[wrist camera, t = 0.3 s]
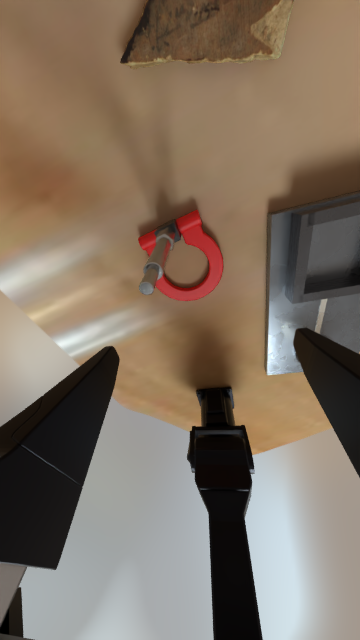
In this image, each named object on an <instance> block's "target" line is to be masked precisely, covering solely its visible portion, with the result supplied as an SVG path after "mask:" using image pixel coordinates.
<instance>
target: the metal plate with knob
mask: <svg viewBox="0 0 360 640" xmlns="http://www.w3.org/2000/svg"><path fill="white" fill-rule="evenodd" d="M298 328H309V329H311V330H313V331H315V332H317V333H319V334H321V335H323V336H325V337H327V338H328V339H330V340H332V341H334V342H336V343H338V344H340V345H342V346H344V347H346V348H348V349H350V350H352V351H354V352H356V353H358V354H359V352H360V191H356V192H352V193H348V194H344V195H340V196H336V197H332V198H328V199H324V200H320V201H316V202H312V203H308V204H304V205H300V206H296V207H292V208H288V209H284V210H280V211H276V212H272V213H268V225H267V279H266V332H265V371H266V374H267V375H274V374H284V373H295V372H303V369H302V367H301V364H300V362H299V359H298V357H297V354H296V351H295V349H294V346H293V340H294V335H295V331H296V329H298Z"/></svg>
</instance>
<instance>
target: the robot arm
mask: <svg viewBox="0 0 360 640" xmlns="http://www.w3.org/2000/svg"><path fill="white" fill-rule="evenodd" d="M293 346H294V349H295V351H296V354H297V357H298V359H299V362H300V364H301V367H302V369H303V372H304V374H305V376H306V378H307V380H308V382H309V384H310V386H311V388H312V390H313V392H314V394H315V395H316V397H317V399H318V401H319V403H320V405H321V407H322V408H323V410H324V412H325V414H326V416H327V418H328V420H329V421H330V423H331V425H332V427H333V429H334V431H335V432H336V434H337V436H338V438H339V440H340V442H341V443H342V445H343V447H344V449H345V451H346V453H347V455H348V456H349V459H350V461H351V462H352V464H353V466H354V468H355V470H356V472H357V474H358V475H359V477H360V354H358V353H356V352H354V351H352V350H350V349H348V348H346V347H344V346H342V345H340V344H338V343H336V342H334V341H332V340H330V339H328V338H327V337H325V336H323V335H321V334H319V333H317V332H315V331H313V330H311V329H309V328H298V329H296V331H295V335H294V340H293ZM119 360H120V359H119V356H118V354H117V352H116V350H115V348H114V347H113V346H107V347H104V348H103V349H102V350H100V351H99V352H98V353H97V354H95V355H94V356H93V357H91V358H90V359H89V360H88V361H86V362H85V363H84V364H82V365H81V366H80V367H79V368H77V369H76V370H75V371H74V372H72V373H71V374H70V375H68V376H67V377H66V378H65V379H63V380H62V381H61V382H59V383H58V384H57V385H56V386H54V387H53V388H52V389H51V390H49V391H48V392H47V393H45V394H44V396H41V397H40V398H39V399H38V400H36V401H35V402H34V403H32V404H31V405H30V406H28V407H27V408H26V409H25V410H23V411H22V412H20V413H19V414H18V415H16V416H15V417H13V418H12V419H11V420H9V421H8V422H7V423H5V424H4V425H2V426H1V427H0V640H33V639H27V638H23V619H22V597H21V587H19V584H20V582H21V580H22V577H23V575H24V573H25V571H26V569H27V567H35V568H44V569H52V570H56V568H57V566H58V563H59V560H60V558H61V554H62V551H63V548H64V545H65V542H66V539H67V535H68V532H69V529H70V526H71V523H72V520H73V516H74V513H75V510H76V507H77V504H78V501H79V497H80V494H81V491H82V486H83V484H84V481H85V478H86V475H87V472H88V468H89V465H90V462H91V459H92V456H93V453H94V449H95V446H96V443H97V440H98V437H99V434H100V430H101V427H102V424H103V421H104V418H105V415H106V411H107V408H108V405H109V402H110V399H111V396H112V392H113V389H114V385H115V381H116V376H117V371H118V366H119ZM196 394H197V397H198V400H199V403H200V406H201V425H202V426H201V427H196V426H192V431H190V443H189V449H188V454H187V460H188V461H189V462H190V465H191V470H192V473H195V482H196V485H197V487H198V490H199V492H200V495H201V497H202V500H203V502H204V504H205V506H206V508H207V511H208V513H209V534H210V559H211V582H212V583H211V584H212V609H213V633H214V640H263V639H262V632H261V626H260V619H259V612H258V605H257V600H256V592H255V586H254V579H253V572H252V566H251V559H250V552H249V545H248V539H247V532H246V525H245V515H246V511H247V508H248V504H249V501H250V497H251V489H252V479H251V474H254V463H253V458H252V452H251V448H250V444H249V440H248V436H247V432H246V428H245V425H241V426H235V421H234V415H233V408H234V402H233V395H232V389H231V388H230V387H227V388H215V389H203V390H197V391H196Z"/></svg>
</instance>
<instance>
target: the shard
mask: <svg viewBox="0 0 360 640" xmlns="http://www.w3.org/2000/svg"><path fill="white" fill-rule="evenodd" d="M293 2H294V0H146V3H145V5H144V9H143V13H142V15H141V18H140V20H139V23H138V25H137V27H136V28H135V31H134V33H133V36H132V37H131V38H130V40H129V41H128V42H127V46H126V49H125V52H124V54H123V56H122V58H121V62H120V63H121V64H126V65H128V66H130V67H131V69H137V68H140V67H151V66H156V65H159V64H162V63H164V62H165V63H167V62H170V61H177V60H179V61H183V62H187V63H189V64H193V63H202V62H210V63H223V62H233V63H234V62H235V63H246V62H251V61H253V60H255V59H257V60H268V59H277V58H279V57H280V55H281V51H282V47H283V43H284V39H285V34H286V29H287V25H288V20H289V16H290V13H291V10H292V7H293Z"/></svg>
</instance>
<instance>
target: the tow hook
mask: <svg viewBox="0 0 360 640" xmlns="http://www.w3.org/2000/svg"><path fill="white" fill-rule="evenodd" d="M201 225H202V221H201V218H200V215H199V212H198V210H195V211H193V212H191V213H189V214H187V215H185V216H183V217H180V218H178V219H174V220H172V221H170V222H168V223H166V224H164V225H161V226H159V227H158V228H157V229H156V230H154V231H151V232H149V233H147V234H145V235H143V236H141V237H139V238H138V240H139V244H140V246H141V247H142V249H143V250H146V251H147V253H148V255H149V259H148V261H147V263H146V264H145V266H144V270H143V271H144V277H143V279H142V281H141V283H140V285H139V290H140V292H141V293H142V294H144V295H150V294H152V293H153V291H154V288H155V286H156V287H157V288H158V289H159V290H160V291H161V292H162V293H163V294H165V295H167V296H168V297H170V298H173V299H176V300H181V301H191V300H197V299H199V298H202V297H204V296H206V295H207V294H209V293H210V292H211V291H212V290H213V289H214V288H215V287H216V286H217V284H218V283H219V281H220V279H221V276H222V272H223V257H222V254H221V252H220V249H219V246H218V245H217V244H216V242H215V241H214V240H213V238H211V237H210V236H209V235H207V234H206V233H205V232H203V230H202V227H201ZM181 235H183V238H184V240H185V243H186V244H188V245H193V246H195V247H198V248H199V249H200V250H202V251H203V252H204V253H205V255H206V256H207V258H208V260H209V272H208V274H207V276H206V278H205V279H204V280H203V282H201V283H200V284H199V285H197V286H195V287H192V288H180V287H177V286H175V285H173V284H172V283H170V282H169V281H168V280H167V278H166V277H165V275H164V269H165V265H166V262H167V259H168V255H169V252H170V251H172V250H173V247H174V243H175V242H177V241H179V240H181Z"/></svg>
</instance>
